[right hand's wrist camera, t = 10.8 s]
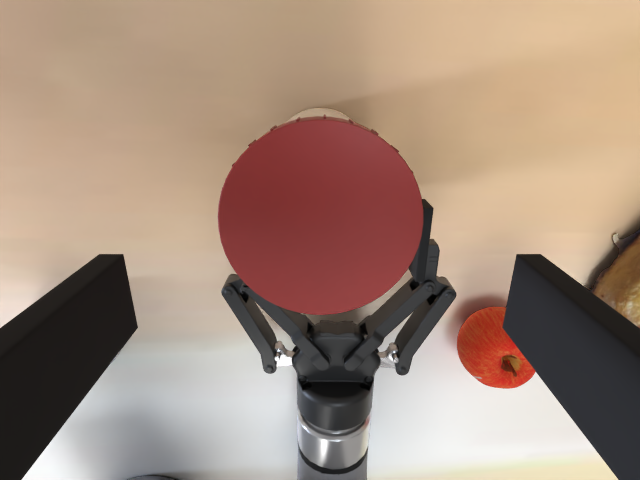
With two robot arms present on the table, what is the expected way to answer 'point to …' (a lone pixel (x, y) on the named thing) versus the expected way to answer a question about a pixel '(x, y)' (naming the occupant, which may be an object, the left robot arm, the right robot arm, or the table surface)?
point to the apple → (492, 351)
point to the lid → (320, 216)
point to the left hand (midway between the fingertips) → (341, 201)
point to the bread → (622, 279)
